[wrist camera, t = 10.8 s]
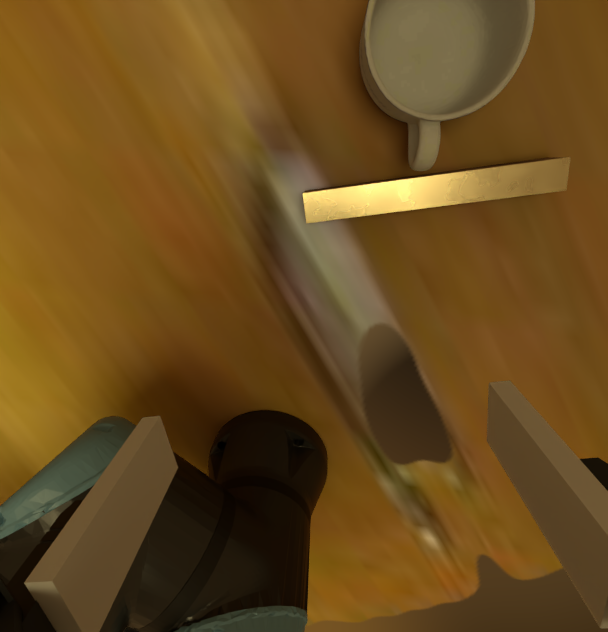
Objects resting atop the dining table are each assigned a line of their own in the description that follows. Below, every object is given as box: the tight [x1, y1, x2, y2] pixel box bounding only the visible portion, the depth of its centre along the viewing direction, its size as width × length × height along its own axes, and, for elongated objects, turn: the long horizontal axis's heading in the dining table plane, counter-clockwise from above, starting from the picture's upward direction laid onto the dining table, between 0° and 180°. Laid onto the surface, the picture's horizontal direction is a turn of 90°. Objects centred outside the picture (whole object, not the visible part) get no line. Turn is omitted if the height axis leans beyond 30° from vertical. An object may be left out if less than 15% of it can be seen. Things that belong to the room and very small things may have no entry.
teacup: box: [359, 0, 535, 171], centre depth 28 cm, size 14×11×8 cm
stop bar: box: [303, 157, 570, 223], centre depth 33 cm, size 22×3×3 cm, turn 98°
